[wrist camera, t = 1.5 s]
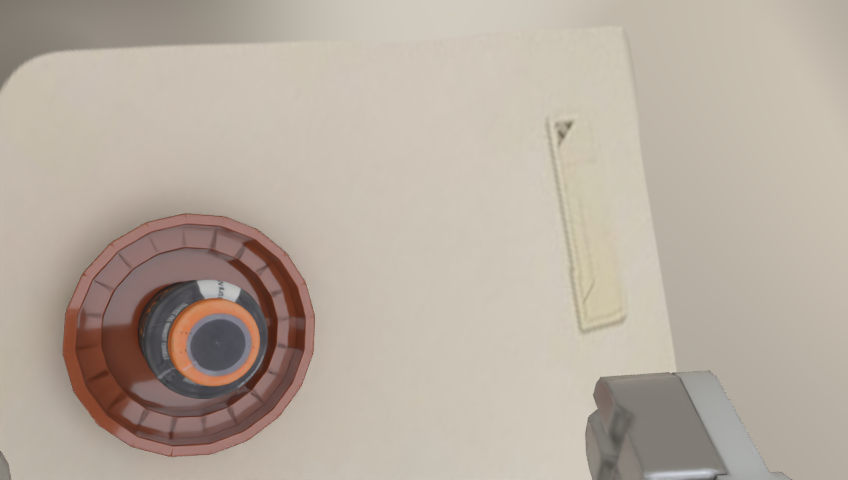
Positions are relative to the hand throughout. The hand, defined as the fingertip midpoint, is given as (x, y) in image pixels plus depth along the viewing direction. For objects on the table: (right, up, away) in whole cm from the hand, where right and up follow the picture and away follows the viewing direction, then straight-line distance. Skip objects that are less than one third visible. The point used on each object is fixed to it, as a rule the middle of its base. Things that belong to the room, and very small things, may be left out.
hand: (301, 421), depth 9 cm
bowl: (-13, -3, +33) cm, 35 cm away
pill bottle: (-13, -3, +33) cm, 35 cm away
